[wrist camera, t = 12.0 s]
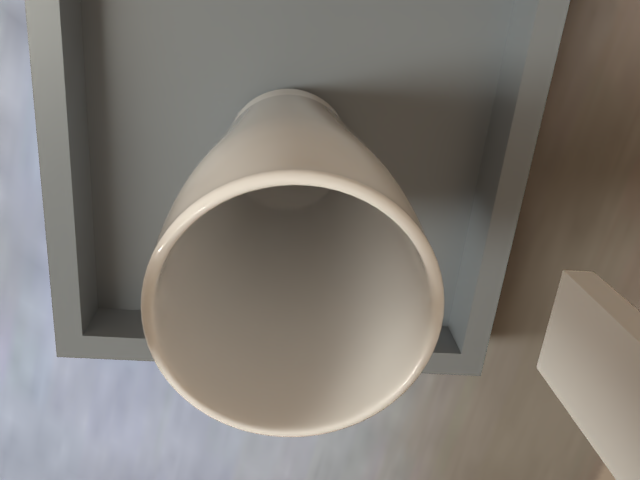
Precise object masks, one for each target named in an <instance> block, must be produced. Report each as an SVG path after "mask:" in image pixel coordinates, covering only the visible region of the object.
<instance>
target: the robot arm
mask: <svg viewBox="0 0 640 480" xmlns="http://www.w3.org/2000/svg"><path fill="white" fill-rule="evenodd" d="M536 368H537V369H538V370H539V372H540V373H541V375H542V376H543V377H544V379H545V380H546V382H547V383H548V384H549V386H550V387H551V389H552V390H553V392H554V393H555V394H556V396H557V397H558V399H559V400H560V401H561V403H562V404H563V406H564V407H565V408H566V410H567V411H568V413H569V414H570V416H571V417H572V418H573V420H574V421H575V423H576V424H577V425H578V427H579V428H580V430H581V431H582V432H583V434H584V435H585V437H586V438H587V440H588V441H589V442H590V444H591V445H592V447H593V448H594V449H595V451H596V452H597V454H598V455H599V456H600V458H601V459H602V461H603V462H604V464H605V465H606V466H607V468H608V469H609V471H610V472H611V473H612V475H613V476H614V478H615V479H616V480H640V311H639V310H637V309H636V308H635V307H634V306H633V305H632V304H630V303H629V302H628V301H627V300H626V299H625V298H623V297H622V296H621V295H620V294H619V293H618V292H617V291H615V290H614V289H613V288H612V287H611V286H610V285H608V284H607V283H606V282H605V281H604V280H603V279H602V278H600V277H599V276H598V275H597V274H596V273H595V272H593V271H575V270H563V272H562V275H561V279H560V283H559V286H558V290H557V294H556V297H555V301H554V305H553V309H552V312H551V316H550V320H549V323H548V327H547V331H546V334H545V338H544V342H543V345H542V349H541V353H540V356H539V360H538V364H537V367H536Z"/></svg>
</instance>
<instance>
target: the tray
mask: <svg viewBox="0 0 640 480" xmlns="http://www.w3.org/2000/svg"><path fill="white" fill-rule="evenodd" d="M569 4H570V0H25V9H26V20H27V31H28V42H29V53H30V64H31V75H32V86H33V98H34V109H35V120H36V131H37V142H38V153H39V164H40V175H41V186H42V197H43V208H44V219H45V230H46V241H47V253H48V264H49V275H50V286H51V297H52V308H53V319H54V330H55V341H56V352H57V357H70V358H93V359H115V360H137V361H154V359H153V357H152V355H151V352H150V350H149V348H148V345H147V342H146V338H145V335H144V331H143V325H142V319H141V291H142V285H143V279H144V276H145V272H146V269H147V265H148V263H149V260H150V258H151V255H152V252H153V249H154V246H155V243H156V240H157V238H158V235H159V233H160V230H161V228H162V225H163V223H164V221H165V218H166V216H167V214H168V212H169V209H170V207H171V205H172V204H173V202H174V200H175V198H176V196H177V194H178V193H179V191H180V189H181V187H182V186H183V184H184V182H185V181H186V179H187V178H188V177H189V175H190V174H191V172H192V171H193V170H194V168H195V167H196V165H197V164H198V163H199V162H200V161H201V160H202V158H203V157H204V156H205V155H206V154H207V153H208V151H209V150H210V149H211V148H212V147H213V146H214V145H215V144H216V143H217V141H218V140H219V139H220V138H221V137H222V136H223V135H224V134H225V133H226V132H227V130H228V129H229V128H230V127H231V125H232V123H233V121H234V119H235V117H236V116H237V115H238V113H239V112H240V111H241V109H242V108H243V107H244V106H245V105H246V104H247V103H249V102H250V101H251V100H253V99H254V98H256V97H257V96H259V95H261V94H263V93H266V92H269V91H272V90H277V89H299V90H303V91H307V92H310V93H312V94H314V95H316V96H318V97H320V98H322V99H323V100H324V101H326V102H327V103H328V104H329V105H330V106H332V107H333V109H334V110H335V111H336V112H337V113H338V115H339V116H340V117H341V119H342V121H343V123H344V124H345V125H346V126H347V127H348V128H349V129H350V130H351V131H352V132H353V133H354V134H355V135H356V136H357V137H358V138H359V139H360V140H361V141H362V142H363V143H364V144H365V145H366V146H367V147H368V148H370V149H371V150H372V152H373V153H374V154H375V155H376V156H377V157H378V158H379V159H380V160H381V161H382V162H383V164H384V165H385V166H386V167H387V168H388V170H389V171H390V172H391V174H392V175H393V176H394V178H395V179H396V181H397V182H398V183H399V185H400V186H401V188H402V189H403V191H404V193H405V194H406V196H407V198H408V200H409V201H410V203H411V205H412V207H413V208H414V210H415V212H416V214H417V216H418V218H419V220H420V222H421V224H422V227H423V229H424V231H425V234H426V236H427V238H428V241H429V243H430V245H431V247H432V249H433V251H434V254H435V256H436V259H437V261H438V264H439V268H440V271H441V275H442V281H443V286H444V316H443V322H442V328H441V331H440V335H439V339H438V341H437V344H436V346H435V349H434V351H433V353H432V355H431V357H430V359H429V361H428V363H427V365H426V366H425V368H424V369H423V371H422V372H421V373H427V374H449V375H471V376H481V373H482V368H483V364H484V360H485V356H486V352H487V347H488V343H489V339H490V335H491V331H492V326H493V322H494V318H495V314H496V310H497V305H498V301H499V297H500V293H501V289H502V284H503V280H504V276H505V272H506V268H507V264H508V259H509V255H510V251H511V247H512V243H513V238H514V234H515V230H516V226H517V222H518V217H519V213H520V209H521V205H522V201H523V196H524V192H525V188H526V184H527V180H528V175H529V171H530V167H531V163H532V159H533V155H534V150H535V146H536V142H537V138H538V134H539V129H540V125H541V121H542V117H543V113H544V108H545V104H546V100H547V96H548V92H549V87H550V83H551V79H552V75H553V71H554V66H555V62H556V58H557V54H558V50H559V45H560V41H561V37H562V33H563V29H564V25H565V20H566V16H567V12H568V8H569Z"/></svg>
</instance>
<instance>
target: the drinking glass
mask: <svg viewBox="0 0 640 480" xmlns="http://www.w3.org/2000/svg"><path fill="white" fill-rule="evenodd" d="M443 316H444V286H443V281H442V275H441V271H440V268H439V264H438V261H437V259H436V256H435V254H434V251H433V249H432V247H431V245H430V243H429V241H428V238H427V236H426V234H425V231H424V229H423V227H422V224H421V222H420V220H419V218H418V216H417V214H416V212H415V210H414V208H413V207H412V205H411V203H410V201H409V200H408V198H407V196H406V194H405V193H404V191H403V189H402V188H401V186H400V185H399V183H398V182H397V181H396V179H395V178H394V176H393V175H392V174H391V172H390V171H389V170H388V168H387V167H386V166H385V165H384V164H383V162H382V161H381V160H380V159H379V158H378V157H377V156H376V155H375V154H374V153H373V152H372V150H371V149H370V148H368V147H367V146H366V145H365V144H364V143H363V142H362V141H361V140H360V139H359V138H358V137H357V136H356V135H355V134H354V133H353V132H352V131H351V130H350V129H349V128H348V127H347V126H346V125H345V124H344V123H343V121H342V119H341V117H340V116H339V115H338V113H337V112H336V111H335V110H334V109H333V107H332V106H330V105H329V104H328V103H327V102H326V101H324V100H323V99H322V98H320V97H318V96H316V95H314V94H312V93H310V92H307V91H303V90H299V89H277V90H272V91H269V92H266V93H263V94H261V95H259V96H257V97H256V98H254V99H253V100H251V101H250V102H249V103H247V104H246V105H245V106H244V107H243V108H242V109H241V111H240V112H239V113H238V115H237V116H236V117H235V119H234V121H233V123H232V125H231V127H230V128H229V129H228V130H227V132H226V133H225V134H224V135H223V136H222V137H221V138H220V139H219V140H218V141H217V143H216V144H215V145H214V146H213V147H212V148H211V149H210V150H209V151H208V153H207V154H206V155H205V156H204V157H203V158H202V160H201V161H200V162H199V163H198V164H197V165H196V167H195V168H194V170H193V171H192V172H191V174H190V175H189V177H188V178H187V179H186V181H185V182H184V184H183V186H182V187H181V189H180V191H179V193H178V194H177V196H176V198H175V200H174V202H173V204H172V205H171V207H170V209H169V212H168V214H167V216H166V218H165V221H164V223H163V225H162V228H161V230H160V233H159V235H158V238H157V240H156V243H155V246H154V249H153V252H152V255H151V258H150V260H149V263H148V265H147V269H146V272H145V276H144V279H143V285H142V291H141V319H142V325H143V331H144V335H145V338H146V342H147V345H148V348H149V350H150V352H151V355H152V357H153V359H154V361H155V363H156V364H157V366H158V368H159V370H160V371H161V373H162V374H163V376H164V377H165V378H166V380H167V381H168V382H169V383H170V385H171V386H172V387H173V388H174V389H175V390H176V391H177V392H178V393H179V394H180V395H181V396H182V397H183V398H184V399H185V400H186V401H188V402H189V403H190V404H192V405H193V406H194V407H195V408H197V409H198V410H200V411H201V412H203V413H204V414H206V415H208V416H210V417H212V418H213V419H215V420H217V421H219V422H222V423H224V424H226V425H229V426H231V427H234V428H237V429H240V430H243V431H247V432H251V433H255V434H261V435H267V436H277V437H303V436H313V435H320V434H325V433H329V432H334V431H337V430H340V429H344V428H347V427H350V426H352V425H354V424H357V423H359V422H362V421H364V420H366V419H368V418H370V417H372V416H373V415H375V414H377V413H378V412H380V411H382V410H383V409H385V408H386V407H387V406H389V405H390V404H391V403H393V402H394V401H395V400H396V399H398V398H399V397H400V396H401V395H402V394H403V393H404V392H405V391H406V390H407V389H408V388H409V387H410V386H411V385H412V384H413V383H414V381H415V380H416V379H417V378H418V376H419V375H420V374H421V372H422V371H423V369H424V368H425V366H426V365H427V363H428V361H429V359H430V357H431V355H432V353H433V351H434V349H435V346H436V344H437V341H438V339H439V335H440V331H441V328H442V322H443Z"/></svg>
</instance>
